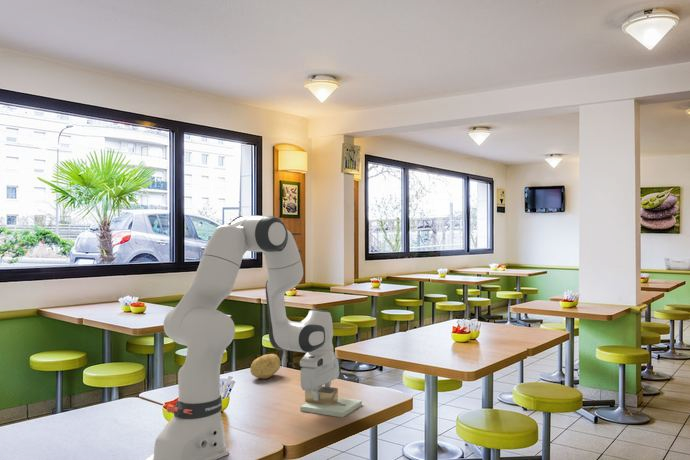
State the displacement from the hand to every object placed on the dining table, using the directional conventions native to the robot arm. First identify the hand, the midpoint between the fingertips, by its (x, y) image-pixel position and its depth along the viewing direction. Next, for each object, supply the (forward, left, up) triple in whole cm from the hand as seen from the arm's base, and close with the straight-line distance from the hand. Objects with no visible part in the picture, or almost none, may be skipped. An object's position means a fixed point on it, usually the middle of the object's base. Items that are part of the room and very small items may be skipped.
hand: (321, 397), depth 189 cm
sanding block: (0, 0, -1) cm, 1 cm away
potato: (+24, +41, -3) cm, 48 cm away
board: (0, -4, -3) cm, 5 cm away
